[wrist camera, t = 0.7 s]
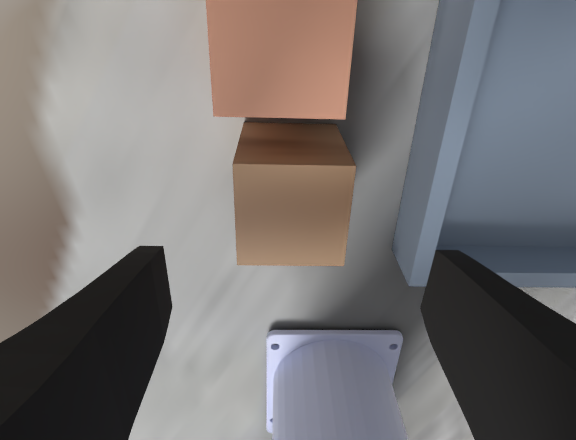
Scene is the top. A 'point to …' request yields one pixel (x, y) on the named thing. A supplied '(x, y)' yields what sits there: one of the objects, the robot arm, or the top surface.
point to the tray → (495, 144)
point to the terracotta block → (280, 57)
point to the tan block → (292, 194)
